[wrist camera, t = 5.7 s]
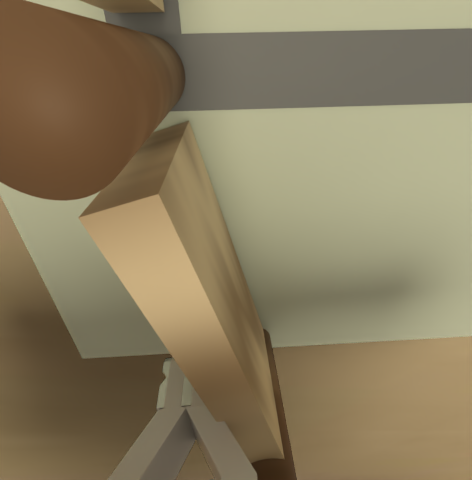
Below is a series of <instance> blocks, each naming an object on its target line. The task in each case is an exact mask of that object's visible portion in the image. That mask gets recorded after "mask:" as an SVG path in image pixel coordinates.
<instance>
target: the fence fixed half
mask: <svg viewBox="0 0 472 480" xmlns="http://www.w3.org/2000/svg"><path fill="white" fill-rule="evenodd" d="M80 1H82V2H85V3H88V4H90V5H93V6H96V7H98V8H101V9H103V10H106V11H109V12H111V13H145V12H165V11H164V3H163V0H80ZM184 87H185V70H184V66H183V63H182V61H181V59H180V57H179V55H178V53H177V52H176V51H175V49H174V48H173V47H172V46H171V45H170V44H169V43H168V42H166V41H165V40H163V39H161V38H159V37H157V36H154V35H150V34H146V33H143V32H139V31H136V30H132V29H128V28H125V27H121V26H117V25H114V24H110V23H106V22H103V21H99V20H95V19H92V18H88V17H84V16H81V15H77V14H73V13H70V12H66V11H62V10H59V9H55V8H51V7H48V6H44V5H40V4H37V3H33V2H29V1H26V0H0V182H1V183H3V184H5V185H7V186H8V187H10V188H13V189H15V190H17V191H19V192H22V193H25V194H28V195H31V196H34V197H38V198H42V199H48V200H61V201H67V200H77V199H81V198H85V197H88V196H91V195H93V194H96V193H98V192H99V191H101V190H103V189H104V188H106V187H107V186H108V185H109V184H111V183H112V181H113V180H114V179H115V178H116V177H117V176H118V175H119V173H120V172H121V171H122V170H123V169H124V167H125V166H126V165H127V164H128V162H129V161H130V160H131V159H132V157H133V156H134V155H135V154H136V153H137V151H138V150H139V149H140V148H141V146H142V145H143V144H144V143H145V141H146V140H147V139H148V138H149V137H150V135H151V134H152V133H153V132H154V130H155V129H156V128H157V127H158V125H159V124H160V123H161V122H162V121H163V119H164V118H165V117H166V116H167V114H168V113H169V112H170V111H171V109H172V108H173V107H174V106H175V105H176V103H177V102H178V101H179V99H180V98H181V96H182V94H183V91H184Z"/></svg>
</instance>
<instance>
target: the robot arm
mask: <svg viewBox="0 0 472 480" xmlns="http://www.w3.org/2000/svg"><path fill="white" fill-rule="evenodd" d="M162 371H163V374H164V377H165V380H164V381H163V382H162V383H161V385H160V388H159V394H158V401H157V407H156V409H157V412H156V413H155V415H154V416H153V418H152V419H151V420H150V422H149V423H148V424H147V426H146V427H145V428H144V430H143V431H142V433H141V434H140V435H139V437H138V438H137V439H136V441H135V442H134V444H133V445H132V446H131V448H130V449H129V450H128V452H127V453H126V455H125V456H124V457H123V459H122V460H121V461H120V463H119V464H118V466H117V467H116V468H115V470H114V471H113V472H112V474H111V475H110V477H109V478H108V479H107V480H175V479H176V477H177V475H178V473H179V471H180V469H181V467H182V465H183V464H184V462H185V460H186V458H187V456H188V454H189V452H190V450H191V448H192V446H193V444H194V442H195V440H196V441H197V443H198V445H199V447H200V449H201V451H202V453H203V455H204V458H205V460H206V462H207V464H208V466H209V468H210V470H211V472H212V474H213V476H214V479H212V480H257V473H256V471H255V470H254V468H253V467H252V465H251V463H250V462H249V460H248V458H247V457H246V455H245V453H244V452H243V450H242V449H241V447H240V445H239V444H238V442H237V440H236V439H235V437H234V435H233V434H232V432H231V431H230V429H229V427H228V426H227V424H226V422H225V421H222V422H216V420H215V419H214V417H213V416H212V414H211V413H210V411H209V410H208V408H207V407H206V406H205V404H204V403H203V401H202V400H201V398H200V397H199V395H198V394H197V392H196V391H195V389H194V388H193V386H192V385H191V383H190V382H189V380H188V379H187V378H186V376H185V375H184V373H183V372H182V370H181V369H180V367H179V366H178V364H177V363H176V361H175V360H174V358H173V357H172V358H166V359H165V361H164V365H163V370H162Z"/></svg>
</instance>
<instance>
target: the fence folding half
mask: <svg viewBox="0 0 472 480" xmlns="http://www.w3.org/2000/svg"><path fill="white" fill-rule="evenodd" d="M78 218H79V220H80V221H81V223H82V224H83V226H84V227H85V229H86V230H87V232H88V233H89V235H90V236H91V238H92V239H93V240H94V242H95V243H96V245H97V246H98V248H99V249H100V251H101V252H102V254H103V255H104V257H105V258H106V260H107V261H108V263H109V264H110V266H111V267H112V268H113V270H114V271H115V273H116V274H117V276H118V277H119V279H120V280H121V282H122V283H123V285H124V286H125V288H126V289H127V291H128V292H129V294H130V295H131V296H132V298H133V299H134V301H135V302H136V304H137V305H138V307H139V308H140V310H141V311H142V313H143V314H144V316H145V317H146V319H147V320H148V322H149V323H150V324H151V326H152V327H153V329H154V330H155V332H156V333H157V335H158V336H159V338H160V339H161V341H162V342H163V344H164V345H165V347H166V348H167V350H168V351H169V352H170V354H171V355H172V357H173V358H174V360H175V361H176V363H177V364H178V366H179V367H180V369H181V370H182V372H183V373H184V375H185V376H186V378H187V379H188V380H189V382H190V383H191V385H192V386H193V388H194V389H195V391H196V392H197V394H198V395H199V397H200V398H201V400H202V401H203V403H204V404H205V406H206V407H207V408H208V410H209V411H210V413H211V414H212V416H213V417H214V419H215V420H216V422H222V421H225V422H226V424H227V426H228V427H229V429H230V431H231V432H232V434H233V435H234V437H235V439H236V440H237V442H238V444H239V445H240V447H241V449H242V450H243V452H244V453H245V455H246V457H247V458H248V460H249V462H250V463H251V465H252V467H253V468H254V470H255V471H256V473H257V480H297V478H296V473H295V468H294V462H293V457H292V451H291V446H290V441H289V435H288V430H287V424H286V419H285V414H284V408H283V403H282V398H281V392H280V387H279V381H278V376H277V371H276V365H275V360H274V354H273V349H272V344H271V338H270V334H269V332H268V331H267V330H265V329H263V327H262V324H261V321H260V319H259V316H258V313H257V310H256V307H255V305H254V302H253V299H252V296H251V293H250V291H249V288H248V285H247V282H246V279H245V277H244V274H243V271H242V268H241V265H240V262H239V260H238V257H237V254H236V251H235V248H234V246H233V243H232V240H231V237H230V234H229V232H228V229H227V226H226V223H225V220H224V218H223V215H222V212H221V209H220V206H219V203H218V201H217V198H216V195H215V192H214V189H213V187H212V184H211V181H210V178H209V175H208V173H207V170H206V167H205V164H204V161H203V159H202V156H201V153H200V150H199V147H198V144H197V142H196V139H195V136H194V133H193V130H192V128H191V125H190V122H189V121H187V122H184V123H181V124H178V125H174V126H171V127H168V128H165V129H162V130H159V131H156V132H153V133H152V134H151V135H150V137H149V138H148V139H147V140H146V141H145V143H144V144H143V145H142V146H141V148H140V149H139V150H138V151H137V153H136V154H135V155H134V156H133V157H132V159H131V160H130V161H129V162H128V164H127V165H126V166H125V167H124V169H123V170H122V171H121V172H120V173H119V175H118V176H117V177H116V178H115V179H114V180H113V181H112V183H111V184H109V185H108V186H107V187H106V188H104V189H103V190H101V191H100V193H99V194H98V195H97V196H96V197H95V198H94V200H93V201H92V202H91V203H90V204H89V206H88V207H87V208H86V209H85V210H84V212H83V213H82V214H81V215H80V216H79V217H78Z"/></svg>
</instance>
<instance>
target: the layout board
mask: <svg viewBox="0 0 472 480" xmlns="http://www.w3.org/2000/svg"><path fill="white" fill-rule="evenodd" d="M26 1H29V2H33V3H37V4H40V5H44V6H48V7H51V8H55V9H59V10H62V11H66V12H70V13H73V14H77V15H81V16H84V17H88V18H92V19H95V20H99V21H103V22H106V23H110V24H114V25H117V26H121V27H125V28H128V29H132V30H136V31H139V32H143V33H146V34H150V35H154V36H157V37H159V38H161V39H163V40H165V41H166V42H168V43H169V44H170V45H171V46H172V47H173V48H174V49H175V51H176V52H177V53H178V55H179V57H180V59H181V61H182V63H183V66H184V70H185V87H184V91H183V94H182V96H181V98H180V99H179V101H178V102H177V103H176V105H175V106H174V107H173V108H172V109H171V111H170V112H169V113H168V114H167V116H166V117H165V118H164V119H163V121H162V122H161V123H160V124H159V125H158V127H157V128H156V129H155V130H154V132H156V131H159V130H162V129H165V128H168V127H171V126H174V125H178V124H181V123H184V122H187V121H189V122H190V125H191V128H192V130H193V133H194V136H195V139H196V142H197V144H198V147H199V150H200V153H201V156H202V159H203V161H204V164H205V167H206V170H207V173H208V175H209V178H210V181H211V184H212V187H213V189H214V192H215V195H216V198H217V201H218V203H219V206H220V209H221V212H222V215H223V218H224V220H225V223H226V226H227V229H228V232H229V234H230V237H231V240H232V243H233V246H234V248H235V251H236V254H237V257H238V260H239V262H240V265H241V268H242V271H243V274H244V277H245V279H246V282H247V285H248V288H249V291H250V293H251V296H252V299H253V302H254V305H255V307H256V310H257V313H258V316H259V319H260V321H261V324H262V327H263V329H265V330H267V331H268V332H269V334H270V338H271V344H272V348H275V347H293V346H310V345H327V344H345V343H362V342H379V341H396V340H414V339H431V338H448V337H466V336H472V0H163V3H164V11H165V12H145V13H111V12H109V11H106V10H103V9H101V8H98V7H96V6H93V5H90V4H88V3H85V2H82V1H80V0H26ZM99 193H100V191H99V192H98V193H96V194H93V195H91V196H88V197H85V198H81V199H77V200H67V201H61V200H48V199H42V198H38V197H34V196H31V195H28V194H25V193H22V192H19V191H17V190H15V189H13V188H10V187H8V186H7V185H5V184H3V183H1V182H0V196H1V198H2V200H3V202H4V204H5V206H6V208H7V210H8V212H9V214H10V216H11V218H12V220H13V222H14V224H15V226H16V228H17V230H18V232H19V234H20V236H21V238H22V240H23V242H24V244H25V246H26V248H27V250H28V252H29V254H30V255H31V257H32V259H33V261H34V263H35V265H36V267H37V269H38V271H39V273H40V275H41V277H42V279H43V281H44V283H45V285H46V287H47V289H48V291H49V293H50V295H51V297H52V299H53V301H54V303H55V305H56V307H57V309H58V311H59V313H60V315H61V317H62V319H63V321H64V323H65V325H66V327H67V329H68V331H69V333H70V335H71V337H72V339H73V341H74V343H75V345H76V347H77V349H78V351H79V353H80V355H81V357H82V359H85V358H103V357H120V356H137V355H154V354H170V352H169V351H168V350H167V348H166V347H165V345H164V344H163V342H162V341H161V339H160V338H159V336H158V335H157V333H156V332H155V330H154V329H153V327H152V326H151V324H150V323H149V322H148V320H147V319H146V317H145V316H144V314H143V313H142V311H141V310H140V308H139V307H138V305H137V304H136V302H135V301H134V299H133V298H132V296H131V295H130V294H129V292H128V291H127V289H126V288H125V286H124V285H123V283H122V282H121V280H120V279H119V277H118V276H117V274H116V273H115V271H114V270H113V268H112V267H111V266H110V264H109V263H108V261H107V260H106V258H105V257H104V255H103V254H102V252H101V251H100V249H99V248H98V246H97V245H96V243H95V242H94V240H93V239H92V238H91V236H90V235H89V233H88V232H87V230H86V229H85V227H84V226H83V224H82V223H81V221H80V220H79V218H78V217H79V216H80V215H81V214H82V213H83V212H84V210H85V209H86V208H87V207H88V206H89V204H90V203H91V202H92V201H93V200H94V198H95V197H96V196H97V195H98V194H99Z"/></svg>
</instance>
